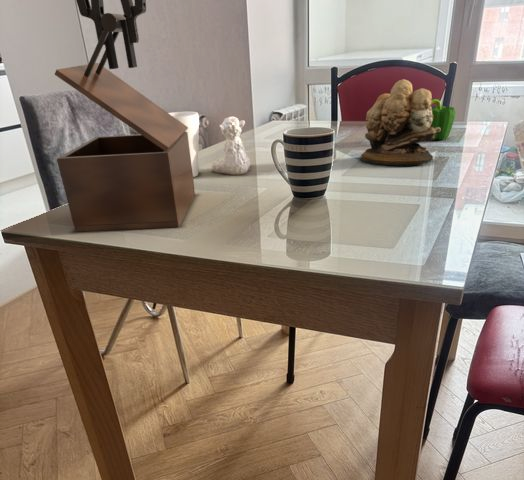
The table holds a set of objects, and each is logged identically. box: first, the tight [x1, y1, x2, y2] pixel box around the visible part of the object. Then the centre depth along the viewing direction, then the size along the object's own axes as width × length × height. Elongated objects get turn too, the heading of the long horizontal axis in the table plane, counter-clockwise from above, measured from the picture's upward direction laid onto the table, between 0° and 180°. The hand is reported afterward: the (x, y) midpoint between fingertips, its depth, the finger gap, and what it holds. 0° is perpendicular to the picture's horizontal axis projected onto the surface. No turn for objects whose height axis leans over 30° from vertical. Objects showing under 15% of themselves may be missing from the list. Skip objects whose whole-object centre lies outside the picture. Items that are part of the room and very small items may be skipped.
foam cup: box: [168, 111, 200, 178], centre depth 115 cm, size 10×9×13 cm
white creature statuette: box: [211, 115, 251, 176], centre depth 116 cm, size 10×9×12 cm
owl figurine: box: [360, 78, 441, 167], centre depth 115 cm, size 18×12×17 cm, turn 57°
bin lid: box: [54, 12, 188, 152], centre depth 83 cm, size 19×20×11 cm
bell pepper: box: [430, 98, 456, 141], centre depth 136 cm, size 8×8×10 cm
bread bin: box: [56, 132, 196, 233], centre depth 92 cm, size 18×20×12 cm
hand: (123, 67), depth 82 cm, fingers closed on bin lid, 2 cm apart
